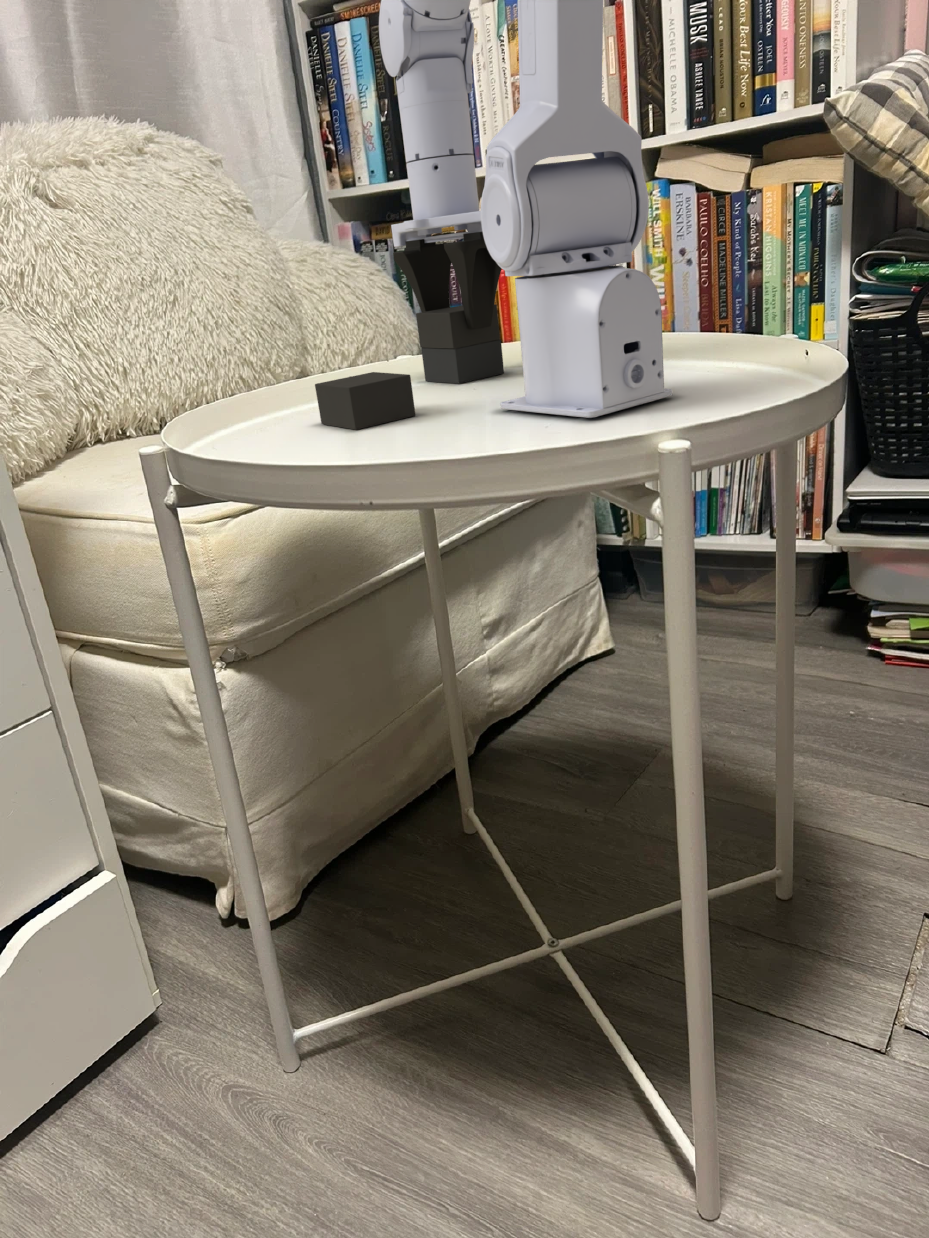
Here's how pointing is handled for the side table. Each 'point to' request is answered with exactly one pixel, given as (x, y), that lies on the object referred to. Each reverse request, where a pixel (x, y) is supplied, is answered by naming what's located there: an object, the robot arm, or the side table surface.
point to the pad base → (463, 362)
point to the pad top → (365, 400)
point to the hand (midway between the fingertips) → (459, 328)
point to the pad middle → (453, 329)
